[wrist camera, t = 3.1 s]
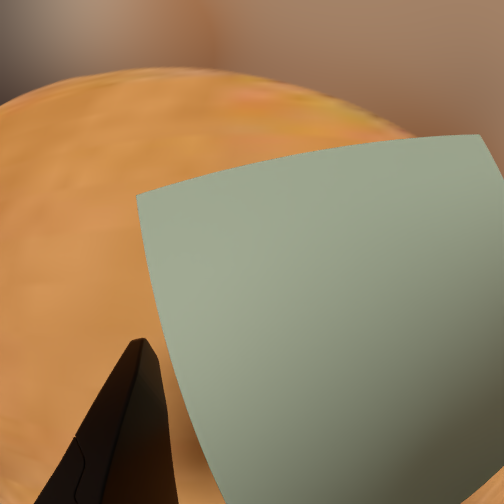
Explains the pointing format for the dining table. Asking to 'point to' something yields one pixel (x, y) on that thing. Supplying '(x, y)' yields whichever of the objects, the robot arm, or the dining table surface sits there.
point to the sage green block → (339, 320)
